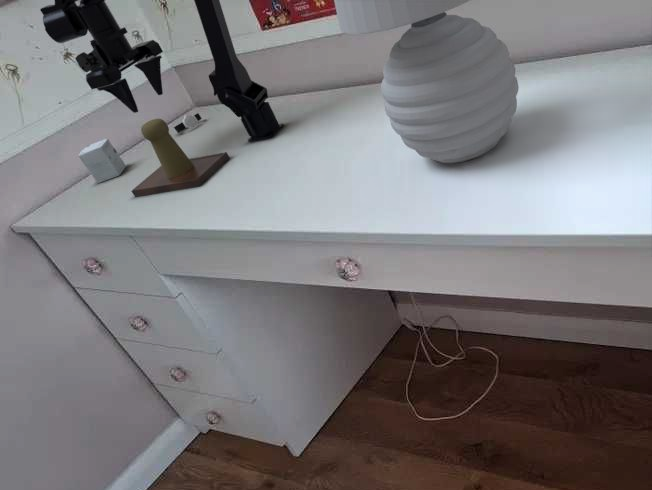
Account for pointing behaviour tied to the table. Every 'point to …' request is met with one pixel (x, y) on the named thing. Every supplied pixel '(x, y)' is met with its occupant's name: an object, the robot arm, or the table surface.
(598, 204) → the table surface
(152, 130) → the olive yellow pawn
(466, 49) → the table lamp
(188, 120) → the watch
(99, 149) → the white cardboard box
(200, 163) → the walnut board
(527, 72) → the table surface
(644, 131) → the table surface
